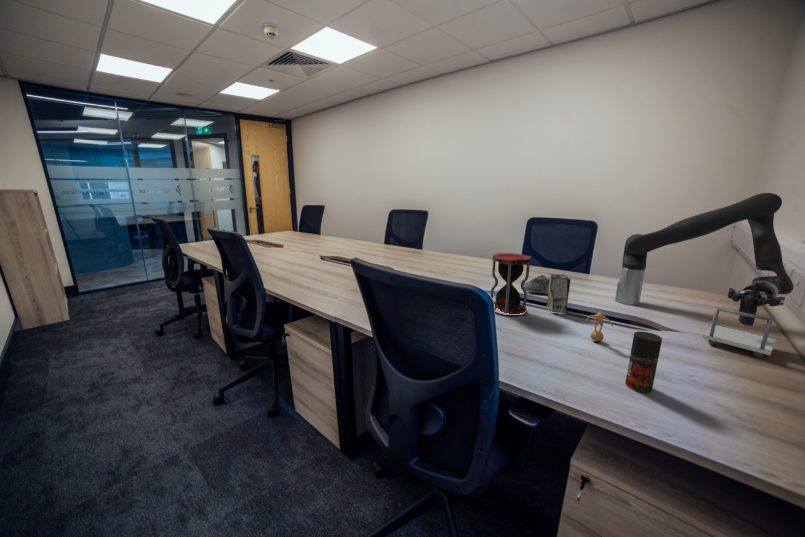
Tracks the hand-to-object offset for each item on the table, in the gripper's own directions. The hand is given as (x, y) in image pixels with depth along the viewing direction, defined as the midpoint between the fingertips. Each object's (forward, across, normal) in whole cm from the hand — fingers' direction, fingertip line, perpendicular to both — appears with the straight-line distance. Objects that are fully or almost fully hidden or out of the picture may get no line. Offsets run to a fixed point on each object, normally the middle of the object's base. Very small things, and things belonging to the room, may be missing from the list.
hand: (747, 301), depth 107 cm
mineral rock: (+1, -77, +17) cm, 78 cm away
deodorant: (+54, -7, +17) cm, 57 cm away
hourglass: (+37, -67, +16) cm, 78 cm away
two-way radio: (-3, 0, +9) cm, 9 cm away
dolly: (-2, 0, +17) cm, 17 cm away
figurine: (+36, -28, +17) cm, 49 cm away
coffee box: (+18, -55, +17) cm, 60 cm away
